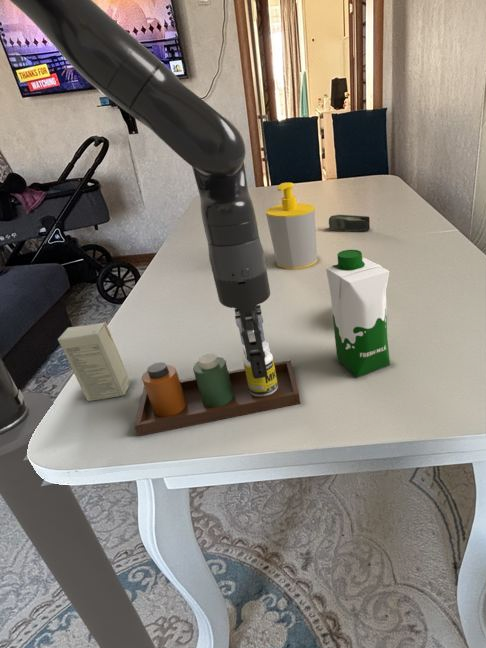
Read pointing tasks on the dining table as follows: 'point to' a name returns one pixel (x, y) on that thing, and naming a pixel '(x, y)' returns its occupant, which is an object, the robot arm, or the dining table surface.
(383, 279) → the milk carton
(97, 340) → the cosmetic box
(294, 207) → the soap bottle
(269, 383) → the supplement bottle
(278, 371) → the tray
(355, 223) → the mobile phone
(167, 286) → the dining table surface
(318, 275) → the dining table surface
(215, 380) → the green bottle
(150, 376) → the amber bottle
